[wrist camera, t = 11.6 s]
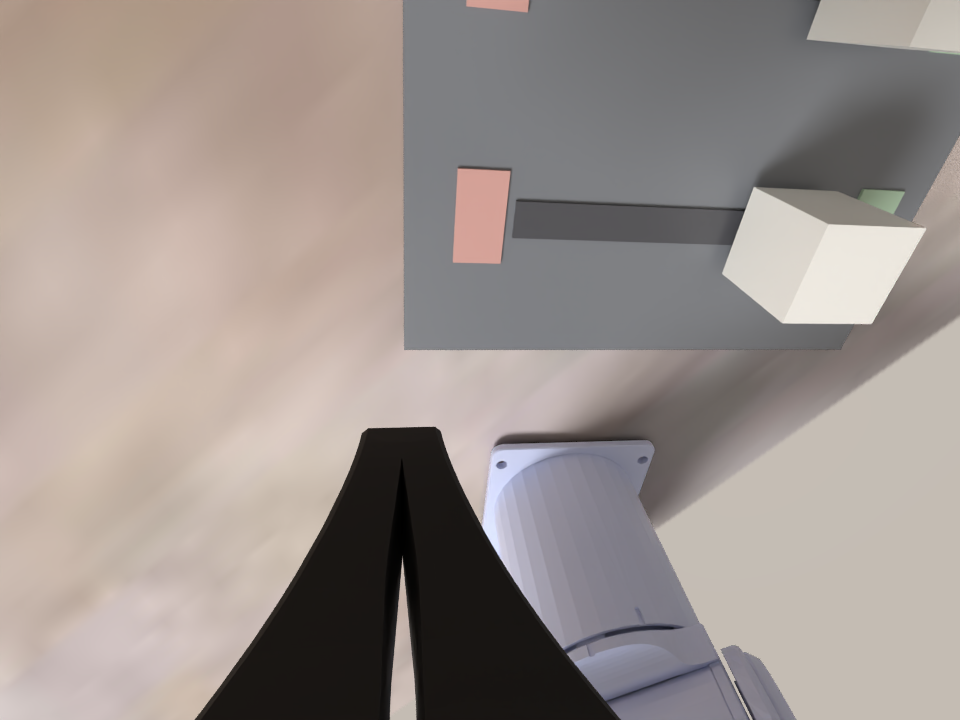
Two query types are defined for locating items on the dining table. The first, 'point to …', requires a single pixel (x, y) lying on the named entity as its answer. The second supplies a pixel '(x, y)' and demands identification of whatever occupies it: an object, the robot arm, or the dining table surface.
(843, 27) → the cream cube box
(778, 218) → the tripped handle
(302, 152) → the dining table surface
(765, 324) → the board
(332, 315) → the dining table surface
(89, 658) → the dining table surface
